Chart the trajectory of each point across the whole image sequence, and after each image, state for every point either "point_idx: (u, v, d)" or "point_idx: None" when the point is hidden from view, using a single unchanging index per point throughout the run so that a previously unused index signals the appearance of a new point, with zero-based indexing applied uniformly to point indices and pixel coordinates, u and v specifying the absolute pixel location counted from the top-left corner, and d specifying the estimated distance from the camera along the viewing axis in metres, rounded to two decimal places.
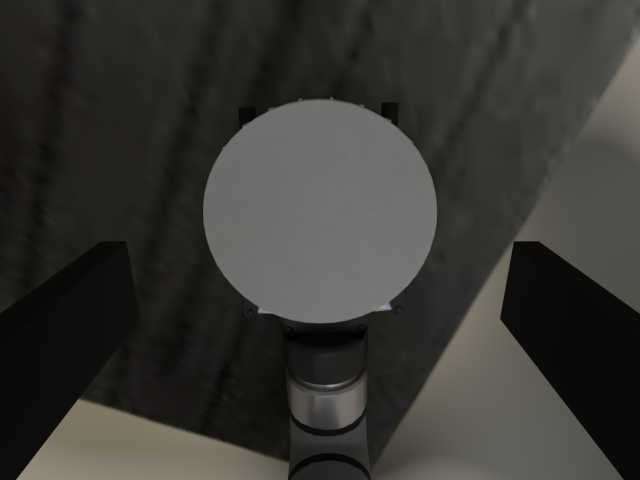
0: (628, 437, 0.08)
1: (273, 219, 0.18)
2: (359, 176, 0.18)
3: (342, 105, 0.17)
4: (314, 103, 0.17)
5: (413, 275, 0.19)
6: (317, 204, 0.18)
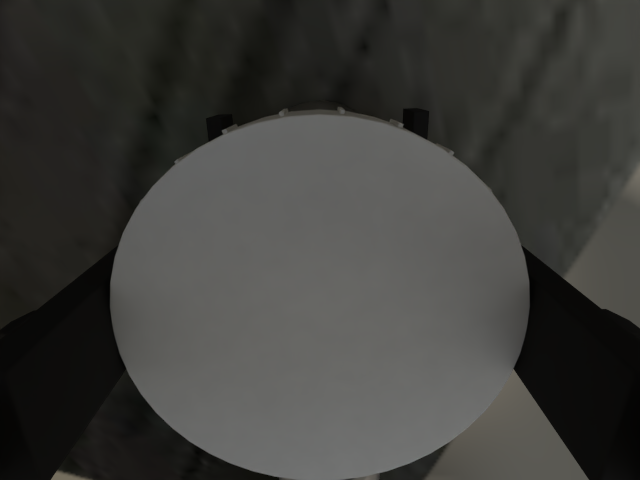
0: (578, 419, 0.08)
1: (236, 325, 0.10)
2: (392, 253, 0.10)
3: (363, 124, 0.09)
4: (309, 121, 0.08)
5: (480, 411, 0.11)
6: (315, 300, 0.10)
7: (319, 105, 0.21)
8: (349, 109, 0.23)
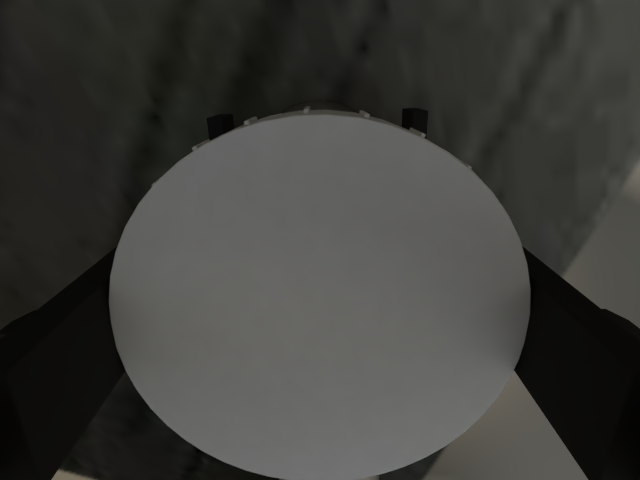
0: (577, 419, 0.08)
1: (300, 396, 0.11)
2: (242, 257, 0.10)
3: (116, 269, 0.10)
4: (113, 310, 0.10)
5: (471, 177, 0.09)
6: (285, 330, 0.10)
7: (319, 105, 0.21)
8: (349, 109, 0.23)
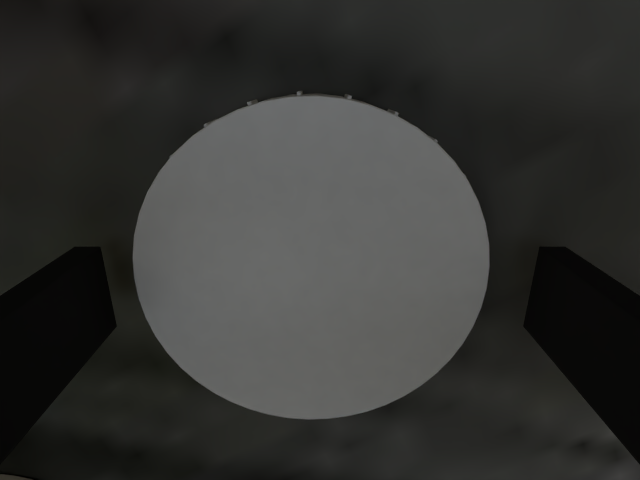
0: None
1: (296, 340, 0.13)
2: (246, 217, 0.11)
3: (139, 228, 0.11)
4: (136, 265, 0.12)
5: (436, 148, 0.11)
6: (282, 282, 0.12)
7: None
8: None
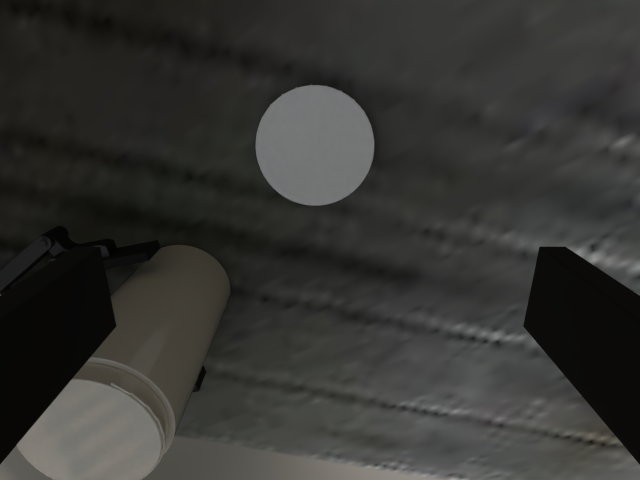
0: None
1: (309, 171, 0.37)
2: (294, 124, 0.35)
3: (259, 128, 0.35)
4: (257, 141, 0.36)
5: (353, 101, 0.35)
6: (305, 148, 0.36)
7: (213, 315, 0.36)
8: (219, 319, 0.39)
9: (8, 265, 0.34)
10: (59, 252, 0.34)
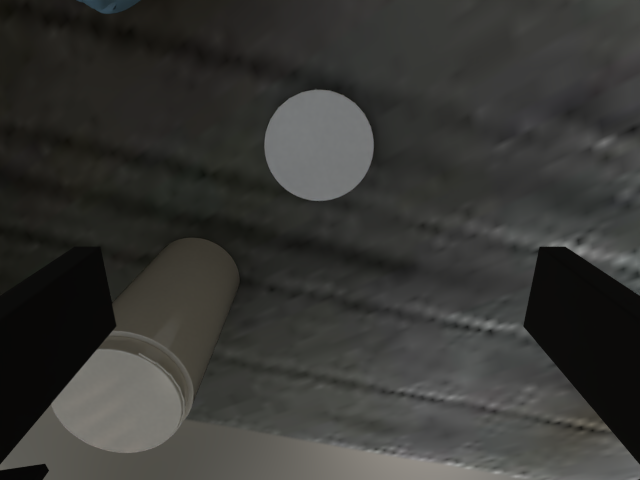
0: None
1: (313, 169, 0.40)
2: (299, 126, 0.38)
3: (268, 129, 0.39)
4: (265, 141, 0.39)
5: (354, 104, 0.38)
6: (310, 147, 0.39)
7: (225, 301, 0.39)
8: (230, 306, 0.42)
9: None
10: None
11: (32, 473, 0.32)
